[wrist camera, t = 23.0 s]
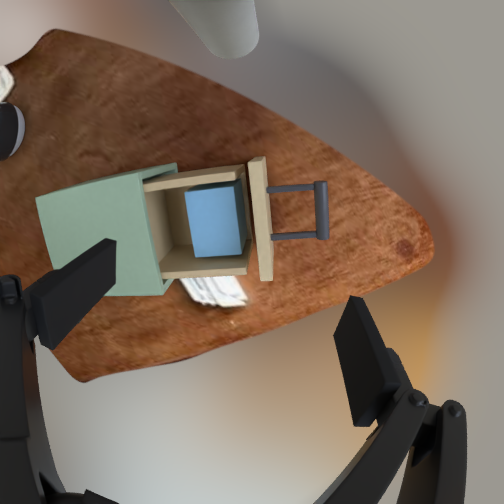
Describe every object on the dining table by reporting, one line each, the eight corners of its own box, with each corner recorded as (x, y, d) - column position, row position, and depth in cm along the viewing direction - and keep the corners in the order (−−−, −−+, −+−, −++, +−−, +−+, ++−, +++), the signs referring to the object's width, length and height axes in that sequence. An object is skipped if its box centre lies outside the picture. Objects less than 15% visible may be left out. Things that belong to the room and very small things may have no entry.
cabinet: (176, 162, 36) (137, 172, 25) (191, 254, 40) (163, 295, 29) (87, 180, 37) (35, 197, 26) (105, 260, 42) (62, 295, 31)
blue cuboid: (199, 183, 34) (183, 192, 28) (241, 178, 34) (233, 186, 28) (208, 238, 37) (195, 257, 31) (247, 234, 36) (241, 254, 30)
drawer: (316, 152, 33) (332, 156, 24) (321, 242, 37) (335, 275, 28) (158, 170, 35) (122, 181, 26) (173, 253, 39) (145, 286, 30)
